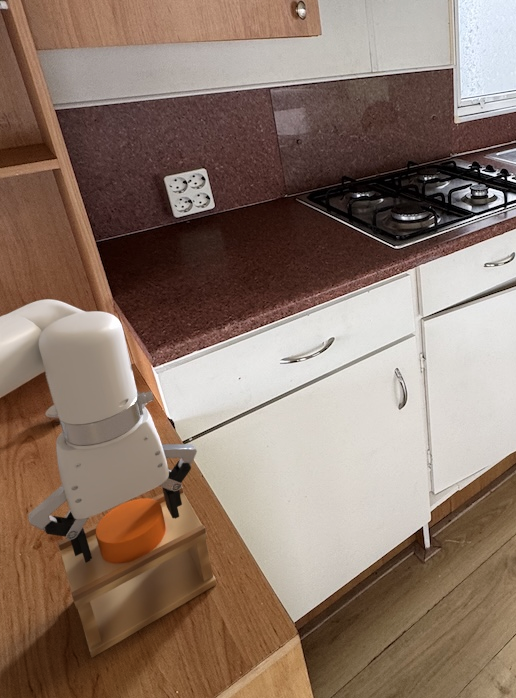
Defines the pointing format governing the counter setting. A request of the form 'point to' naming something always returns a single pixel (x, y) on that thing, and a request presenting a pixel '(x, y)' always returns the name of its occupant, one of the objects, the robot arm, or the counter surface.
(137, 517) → the puck
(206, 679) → the counter surface
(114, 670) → the counter surface
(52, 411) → the screw
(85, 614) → the gold metallic block
